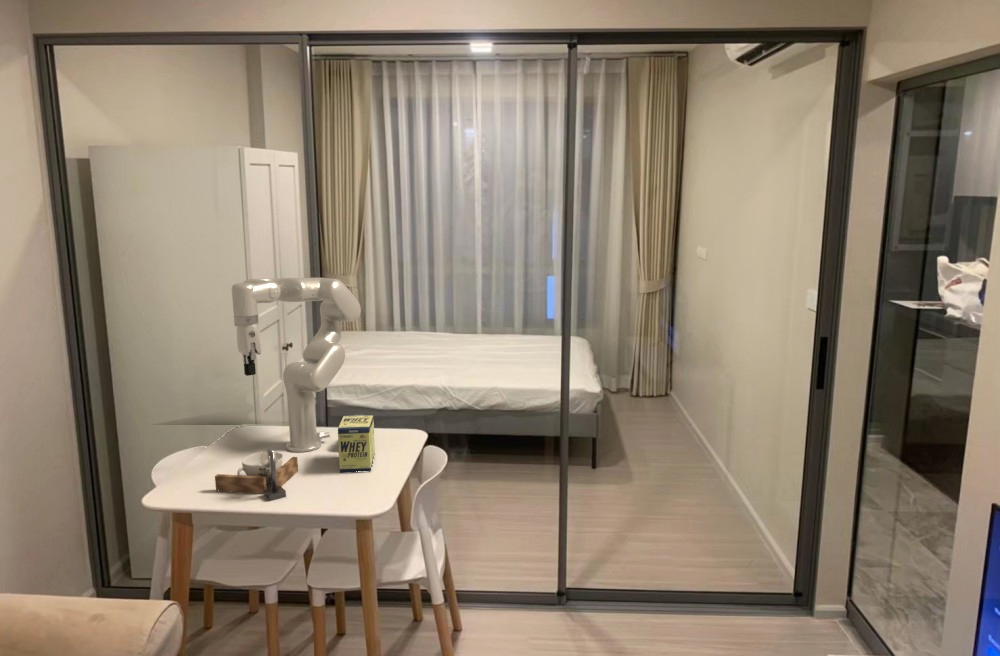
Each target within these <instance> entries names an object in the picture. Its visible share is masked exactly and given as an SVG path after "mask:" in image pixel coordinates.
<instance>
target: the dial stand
mask: <svg viewBox="0 0 1000 656" xmlns="http://www.w3.org/2000/svg"><path fill="white" fill-rule="evenodd" d="M263 452H264V453H263V454H262V455H261V458H260V462H261V464H262V465H263V466H264V467H267V468H271V478H272V482H271V487H268V488H267V489H264V494H263V496H264V497H265V498H266V499H267V500H268V501H269V502H271V501H275V500H280V499H283V498H287V493H286V492H287V491H286V490H285V489H284V488H283V486H282V487H281V486H277V481H276V466H275V465H276V463H277V462H278V455H277V453H278V452H277V453H276V451H275V450H272V449H266V450H265V451H263Z"/></svg>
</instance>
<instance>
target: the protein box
mask: <svg viewBox="0 0 1000 656" xmlns="http://www.w3.org/2000/svg"><path fill="white" fill-rule="evenodd" d="M374 419H375V418H374V414H372V413H371V414H346V415H345V414H344V415H343V417H342V419H341V421H340V423H339V425H338V427H337V440H338V441H337V442H338V461H339V462H338V463H339V473H340V474H346V473H347V472H351V473H359V472H358V471H371V472H372V469H371V467H373V465H372V464H374V462H373V459H374V460H375V458H374V455H375V456H376V451H375V450H376V449H375V448H376V447H375V423H374V422H375V421H374ZM356 471H357V472H356ZM345 472H346V473H345Z"/></svg>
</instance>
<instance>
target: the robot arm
mask: <svg viewBox="0 0 1000 656" xmlns="http://www.w3.org/2000/svg"><path fill="white" fill-rule="evenodd" d="M231 297H232V298H231V299H232V309H233V310H232V311H233V325H234V327H236V343H237V351H238V352H239V353H241V354H242V360H243V370H244V372H243V373H244V375H245V376H246V377H247V376H254V375H256V373H257V371H256V360H257V356H256V355H261V354H262V347H261V345H262V344H261V338H260V331H259V326H258V325H259V311H258V305H259V304H270V303H274V302H277V301H278V302H285V303H286V302H287V303H302V302H320V301H321V303H320V306H319V314H320V327H319V329H318V331H317V332H316V333H315V335H314V336H313V338H312V339H311V340H309V343H308V344H307V345H306V347H305V348H304V350H303V353H302V358H303V360H304V362H303V361H294V362H290V363H288V365H286V367H285V368H284V370H283V372H282V378H283V384H284V387H285V391H286V397H287V398H286V399H287V411H288V412H287V413H288V426H289V427H288V428H289V441H288V442H287V443H286V444H285V449H287V451H288V452H293V453H304V452H311V451H314V450H316V449H319V448H320V447H321V446H322V439H328V438H330V436H331V435H330V432H329V431H328V432H324V431H320V432H318V431H317V417H316V416H317V415H316V400H315V395H314V393H319V392H322V391H324V390H325V389H326V388H328V386H329V385H330V383H331V382H332V381H333V379H334V378H335V376H336V375H337V374H338V372H339V371H340V369H341V368H342V366H343V365H344V362H345V358H346V352H345V351H346V350H345V349H344V347H343V346H342V344H339V342H340V341H341V338H342V329H341V324H340V322H346V323H352V322H355V321H357V320H358V319H359V318H360V316H361V313H362V312H361V311H362V308H361V304H360V302H359V300H358V299H357V298H356V297H355V296H354V295H353V293H352V292H351V291H350V289H349V288H348V287H347V286H346V284H345V283H343V282H342V281H341V280H340V279H337V278H331V277H329V278H328V277H283V278H282V277H281V278H249V279H246V280H244V281H243V282H238V283H234V284H233V285H232V287H231Z"/></svg>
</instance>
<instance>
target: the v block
mask: <svg viewBox="0 0 1000 656" xmlns="http://www.w3.org/2000/svg"><path fill="white" fill-rule="evenodd" d="M298 471H299V463H298V456H292V457H291V458H289V459H288V460H287V461H286V462H285V463H284V464H282V466H281V467H280V468H279V469H278V470H277V471H276V481H277V486H281V487H282V488H283V486H284V485H285V484H286V483H287V482H288V481H289V480H291V479H292V477H294V476H295V475H296V474H297V473H298ZM271 479H272V478H271ZM214 482H215V492H220V491H232V492H231V493H238V492H243V493H244V494H256V495H257V494H259V495H260V494H261V495H264V489H268V488H267V484H266V477H262V476H247V475H241V474H240V475H238V474H222V473H221V474H218V473H217V474H216V475H214ZM218 490H219V491H218Z"/></svg>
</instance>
